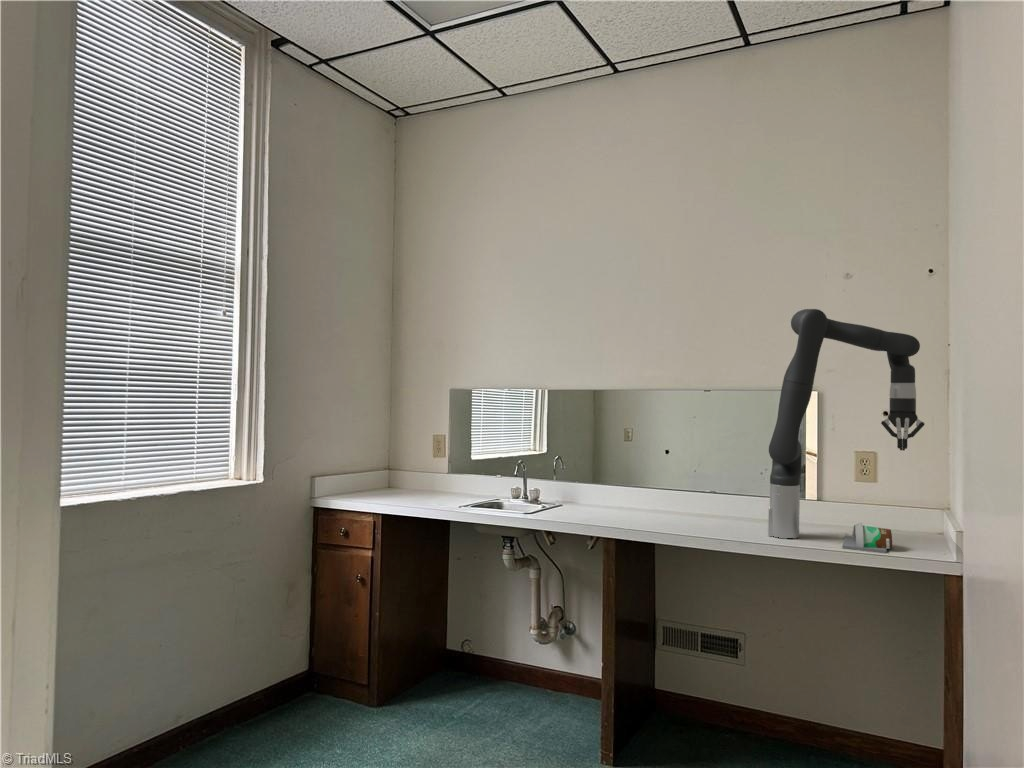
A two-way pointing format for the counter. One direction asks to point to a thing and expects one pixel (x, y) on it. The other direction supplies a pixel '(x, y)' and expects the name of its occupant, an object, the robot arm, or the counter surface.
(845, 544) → the mat
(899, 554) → the counter surface
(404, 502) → the counter surface
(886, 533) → the food container
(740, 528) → the counter surface
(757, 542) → the counter surface
